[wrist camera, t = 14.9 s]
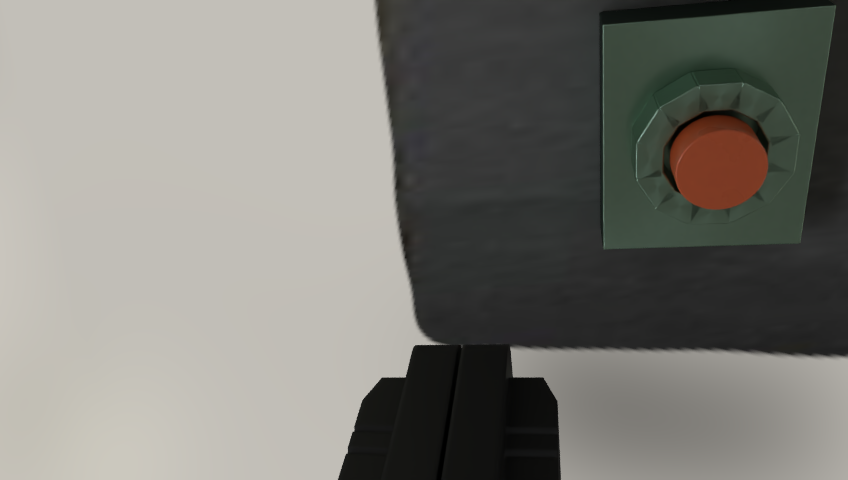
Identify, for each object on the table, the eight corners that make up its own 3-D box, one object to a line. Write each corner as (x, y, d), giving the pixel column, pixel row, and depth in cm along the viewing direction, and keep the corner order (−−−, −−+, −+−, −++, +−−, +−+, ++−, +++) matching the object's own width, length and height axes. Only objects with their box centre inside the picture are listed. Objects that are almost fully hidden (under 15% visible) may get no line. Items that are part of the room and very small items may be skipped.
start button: (671, 116, 31) (677, 132, 29) (762, 111, 30) (773, 127, 29) (667, 193, 33) (673, 212, 31) (754, 189, 32) (763, 208, 31)
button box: (599, 11, 33) (605, 36, 29) (819, -8, 31) (852, 16, 28) (600, 227, 38) (605, 269, 35) (787, 220, 36) (812, 264, 33)
